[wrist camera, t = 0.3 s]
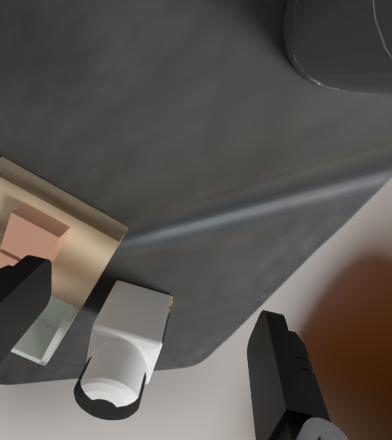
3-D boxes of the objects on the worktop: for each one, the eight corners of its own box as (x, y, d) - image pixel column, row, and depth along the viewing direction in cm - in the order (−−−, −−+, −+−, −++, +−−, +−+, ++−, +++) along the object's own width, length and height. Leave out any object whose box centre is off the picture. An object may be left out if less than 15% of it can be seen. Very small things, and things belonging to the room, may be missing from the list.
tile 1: (25, 203, 26) (11, 212, 24) (70, 227, 27) (59, 237, 25) (14, 237, 28) (0, 248, 26) (55, 258, 29) (44, 270, 27)
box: (-18, 236, 32) (-56, 262, 28) (90, 290, 35) (70, 322, 30) (-32, 287, 36) (-67, 317, 32) (65, 333, 39) (45, 366, 34)
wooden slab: (2, 156, 27) (-22, 165, 25) (128, 227, 30) (119, 242, 27) (-20, 236, 32) (-41, 250, 30) (91, 291, 35) (80, 309, 32)
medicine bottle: (160, 333, 37) (135, 437, 26) (108, 318, 37) (60, 418, 26) (174, 294, 34) (151, 395, 23) (116, 278, 33) (66, 372, 23)
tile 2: (13, 240, 28) (-2, 251, 27) (54, 262, 29) (43, 273, 27) (3, 270, 30) (-11, 282, 28) (42, 289, 31) (31, 301, 29)
